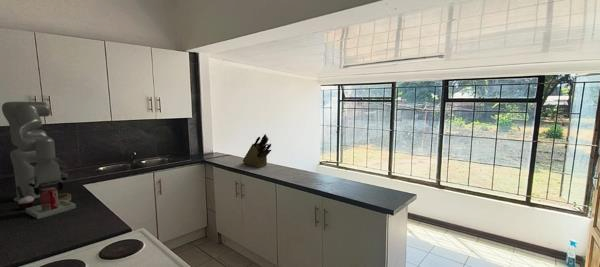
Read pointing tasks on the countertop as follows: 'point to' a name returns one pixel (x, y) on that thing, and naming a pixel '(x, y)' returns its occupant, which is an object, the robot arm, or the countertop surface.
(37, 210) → the tray
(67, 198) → the can holder
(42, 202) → the soda can
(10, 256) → the countertop surface
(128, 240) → the countertop surface
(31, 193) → the robot arm
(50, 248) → the countertop surface
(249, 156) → the knife block
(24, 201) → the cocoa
